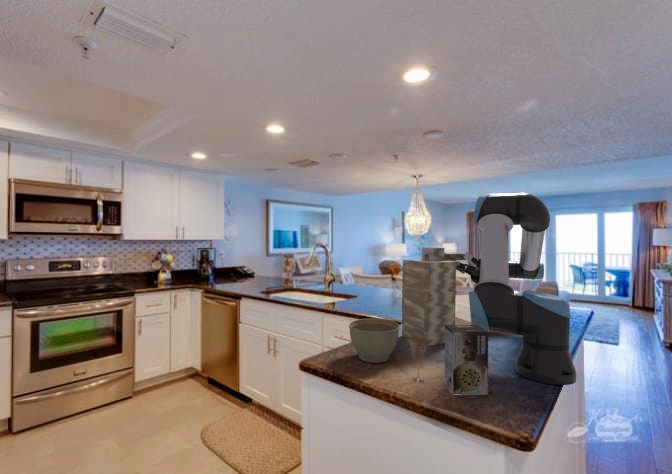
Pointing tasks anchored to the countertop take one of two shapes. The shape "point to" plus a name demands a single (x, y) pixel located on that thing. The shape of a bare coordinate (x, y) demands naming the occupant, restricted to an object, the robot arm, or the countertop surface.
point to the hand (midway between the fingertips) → (452, 253)
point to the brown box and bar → (439, 255)
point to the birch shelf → (428, 300)
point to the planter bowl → (374, 338)
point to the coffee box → (466, 359)
